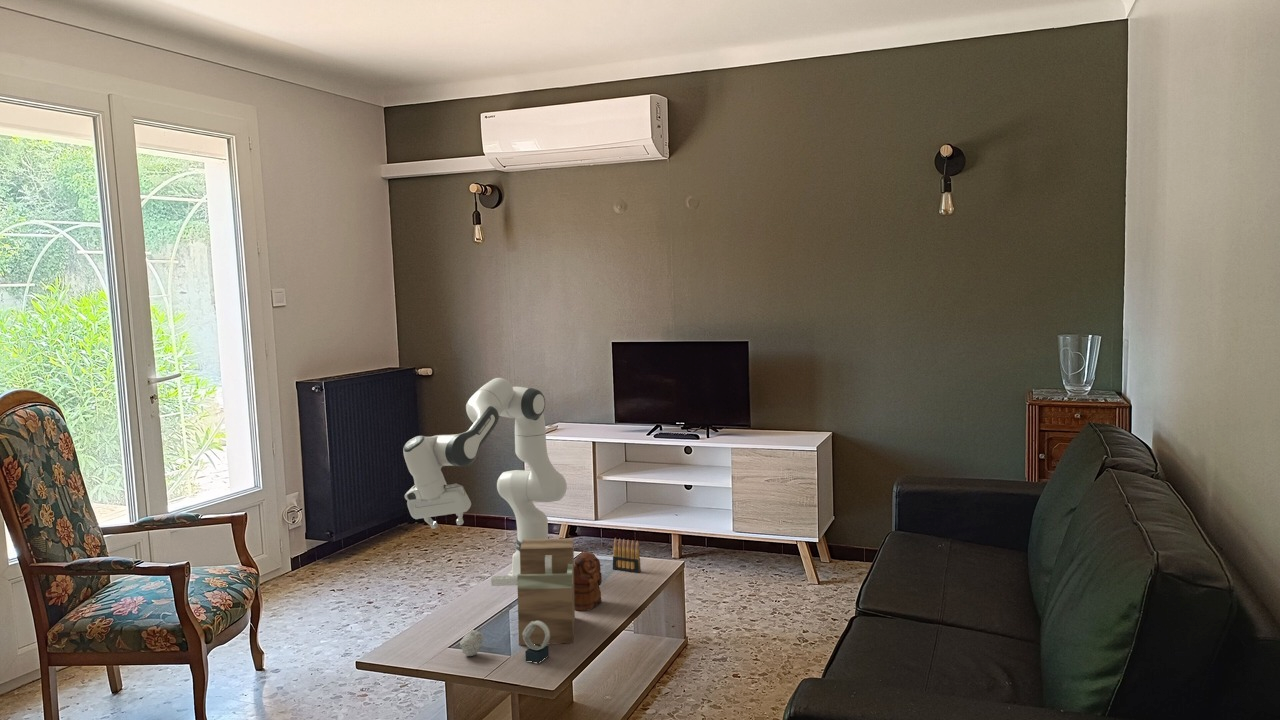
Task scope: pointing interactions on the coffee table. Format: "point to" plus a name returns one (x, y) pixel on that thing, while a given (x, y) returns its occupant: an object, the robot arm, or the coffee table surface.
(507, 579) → the aluminium bracket
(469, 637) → the white rough round lump
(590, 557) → the wooden figurine
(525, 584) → the stepped shelf
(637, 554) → the ammunition clip
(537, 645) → the watch
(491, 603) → the coffee table surface
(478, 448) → the robot arm
